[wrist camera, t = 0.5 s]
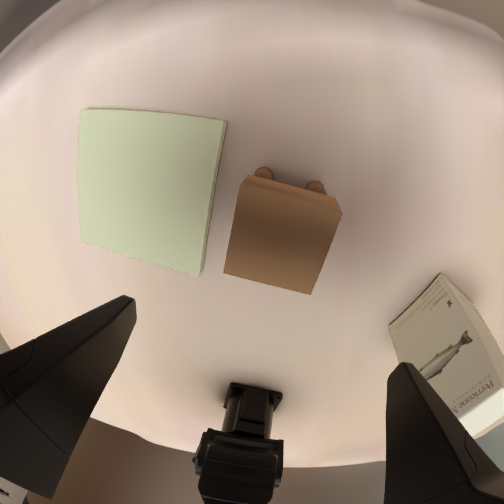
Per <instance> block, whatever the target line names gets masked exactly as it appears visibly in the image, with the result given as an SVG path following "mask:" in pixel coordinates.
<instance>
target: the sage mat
mask: <svg viewBox="0 0 504 504" xmlns="http://www.w3.org/2000/svg"><path fill="white" fill-rule="evenodd" d="M226 125H227V121H224V120H218V119H212V118H205V117H198V116H191V115H183V114H175V113H165V112H154V111H141V110H124V109H82V110H81V111H80V122H79V137H78V205H79V220H80V232H81V241H82V242H85V243H88V244H91V245H94V246H97V247H100V248H103V249H107V250H110V251H113V252H116V253H119V254H123V255H126V256H129V257H132V258H136V259H139V260H142V261H146V262H149V263H152V264H156V265H159V266H163V267H166V268H170V269H173V270H177V271H180V272H184V273H187V274H191V275H195V276H198V277H199V276H200V274H201V272H202V270H203V263H204V256H205V249H206V242H207V235H208V228H209V222H210V215H211V209H212V203H213V196H214V190H215V184H216V179H217V173H218V167H219V162H220V156H221V151H222V146H223V140H224V135H225V130H226Z"/></svg>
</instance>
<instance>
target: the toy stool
mask: <svg viewBox="0 0 504 504" xmlns="http://www.w3.org/2000/svg"><path fill="white" fill-rule="evenodd" d="M272 179H273V173H272V171H271V170H270V169H268V168H266V167H262V168H259V169H258V170H257V171H256V173H255V175H254V176H251V175H248V176H247V177H246V179H245V180H244V182H243V183H242V184H241V186H240V190H239V195H238V200H237V205H236V210H235V215H234V220H233V225H232V230H231V235H230V240H229V246H228V251H227V256H226V262H225V267H224V272H223V273H225V274H229V275H233V276H237V277H241V278H244V279H248V280H252V281H256V282H260V283H264V284H268V285H272V286H276V287H280V288H284V289H288V290H293V291H297V292H301V293H305V294H309V295H311V293H312V291H313V288H314V286H315V283H316V281H317V279H318V276H319V274H320V271H321V269H322V266H323V264H324V261H325V258H326V256H327V253H328V251H329V248H330V245H331V243H332V240H333V237H334V235H335V232H336V229H337V226H338V224H339V221H340V218H341V215H342V212H341V210H340V207H339V205H338V203H337V201H336V199H335V198H334V197H331V196H327V194H326V192H325V189H324V187H323V185H322V183H320V182H319V181H312V182H310V183H309V184H308V185H307V190H306V189H303V188H299V187H295V186H291V185H288V184H284V183H280V182H276V181H272Z"/></svg>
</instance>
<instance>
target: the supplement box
mask: <svg viewBox="0 0 504 504" xmlns="http://www.w3.org/2000/svg"><path fill="white" fill-rule="evenodd" d="M389 331H390V334H391V337H392V340H393V344H394V347H395V351H396V354H397V358H398V361H399V364H400V363H401V362H410V363H412V364H413V365H414V366H415V367H416V368H417V370H418V371H419V372H420V373H421V374H422V376H423V377H424V378H425V379H426V380H427V381H428V383H429V384H430V385H431V386H432V387H433V389H434V390H435V391H436V392H437V394H438V395H439V396H440V397H441V398H442V400H443V401H444V402H445V403H446V405H447V406H448V407H449V408H450V410H451V411H452V412H453V413H454V415H455V416H456V417H457V418H458V420H459V421H460V422H461V424H462V425H463V426H464V427H465V430H467V431H468V433H469V434H470V435H471V437H472V436H474V435H476V434H477V433H479V432H480V431H482V430H483V429H485V428H486V427H488V426H489V425H491V424H492V423H493V422H495V421H496V420H498V419H499V418H500V417H502V416H503V415H504V356H503V354H502V352H501V350H500V348H499V346H498V344H497V342H496V341H495V339H494V337H493V335H492V334H491V332H490V330H489V328H488V327H487V325H486V323H485V322H484V320H483V318H482V317H481V315H480V314H479V312H478V310H477V309H476V307H475V306H474V304H473V303H472V302H471V301H470V300H469V299H468V298H467V297H466V296H465V295H464V294H463V293H462V292H461V291H459V290H458V289H457V288H456V287H455V286H454V285H453V284H452V283H451V282H450V281H449V280H448V279H447V278H446V277H445V276H444V275H442V274H439V276H438V277H437V278H436V279H435V281H434V282H433V283H432V284H431V285H430V287H429V288H428V289H427V290H426V291H425V292H424V293H423V294H422V295H421V296H420V297H419V298H418V299H417V300H416V301H415V302H414V303H413V304H412V305H411V306H410V307H409V308H408V309H407V310H406V311H405V312H404V313H403V314H402V315H401V316H400V317H399V318H397V319H396V320H395V321H394V322H393V323H392V324H391V325H389Z"/></svg>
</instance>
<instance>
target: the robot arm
mask: <svg viewBox="0 0 504 504" xmlns="http://www.w3.org/2000/svg"><path fill="white" fill-rule="evenodd" d="M136 320H137V314H136V302H135V299H133V298H131V297H128V296H126V295H122V296H120V297H118V298H116V299H114V300H111V301H109V302H107V303H105V304H103V305H101V306H99V307H97V308H95V309H93V310H91V311H89V312H87V313H85V314H83V315H81V316H79V317H77V318H75V319H73V320H71V321H69V322H67V323H65V324H63V325H61V326H59V327H57V328H55V329H53V330H51V331H49V332H47V333H45V334H43V335H41V336H39V337H37V338H36V339H33V340H31V341H29V342H27V343H25V344H23V345H20V346H18V347H16V348H14V349H12V350H10V351H7V352H5V353H2V354H0V504H29V502H28V500H27V498H26V493H27V491H31V492H33V493H35V494H38V495H40V496H43V497H45V498H48V499H50V500H51V499H52V498H53V496H54V494H55V491H56V489H57V486H58V484H59V482H60V479H61V477H62V474H63V472H64V470H65V468H66V466H67V463H68V461H69V459H70V456H71V454H72V452H73V450H74V448H75V446H76V444H77V441H78V439H79V437H80V435H81V433H82V431H83V429H84V427H85V425H86V423H87V421H88V419H89V417H90V415H91V413H92V411H93V409H94V407H95V405H96V403H97V402H98V400H99V398H100V396H101V394H102V392H103V390H104V388H105V386H106V385H107V383H108V381H109V379H110V377H111V375H112V374H113V372H114V370H115V368H116V366H117V365H118V363H119V361H120V358H121V356H122V354H123V351H124V349H125V347H126V344H127V342H128V340H129V337H130V335H131V333H132V330H133V328H134V326H135V323H136ZM282 398H283V394H281V393H277V392H272V391H267V390H262V389H257V388H252V387H248V386H244V385H239V384H235V383H231V384H230V386H229V389H228V392H227V396H226V399H225V402H224V406H223V407H224V408H225V409H226V414H225V418H224V422H223V426H222V430H221V431H217V430H213V429H211V428H208V430H207V432H203V434H202V438H201V441H200V444H199V446H198V448H197V450H196V453H195V455H194V457H193V460H192V462H193V463H194V465H195V469H196V475H198V476H200V479H199V483H198V489H199V492H200V494H201V496H202V499H203V501H204V504H267V503H268V502H269V501H270V500H271V498H272V495H273V490H274V488H278V487H279V484H280V481H281V477H282V471H283V444H284V440H280V439H279V440H273V439H270V434H271V426H272V417H273V412H274V411H275V409H276V408H277V406H278V405H279V403H280V401H281V400H282ZM384 504H504V472H502V471H501V470H500V469H499V468H498V467H497V466H496V465H495V464H494V462H493V461H492V460H491V459H490V458H489V457H488V456H487V455H486V453H485V452H484V451H483V450H482V449H481V448H480V446H479V445H478V444H477V443H476V442H475V440H474V439H473V438H472V437H471V435H470V434H469V433H468V431H467V430H465V427H464V426H463V425H462V424H461V422H460V421H459V420H458V418H457V417H456V416H455V415H454V413H453V412H452V411H451V410H450V408H449V407H448V406H447V405H446V403H445V402H444V401H443V400H442V398H441V397H440V396H439V395H438V394H437V392H436V391H435V390H434V389H433V387H432V386H431V385H430V384H429V383H428V381H427V380H426V379H425V378H424V377H423V376H422V374H421V373H420V372H419V371H418V370H417V368H416V367H415V366H414V365H413V364H412V363H410V362H401V363H400V364H399V365H398V366H397V367H396V368H395V369H394V371H393V372H392V373H391V374H390V375H389V377H388V381H387V404H386V478H385V494H384Z"/></svg>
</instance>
